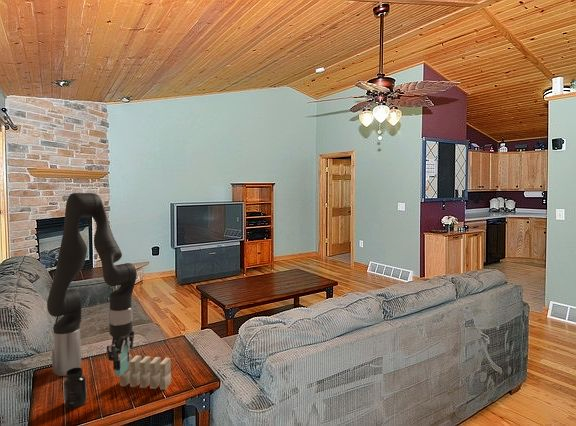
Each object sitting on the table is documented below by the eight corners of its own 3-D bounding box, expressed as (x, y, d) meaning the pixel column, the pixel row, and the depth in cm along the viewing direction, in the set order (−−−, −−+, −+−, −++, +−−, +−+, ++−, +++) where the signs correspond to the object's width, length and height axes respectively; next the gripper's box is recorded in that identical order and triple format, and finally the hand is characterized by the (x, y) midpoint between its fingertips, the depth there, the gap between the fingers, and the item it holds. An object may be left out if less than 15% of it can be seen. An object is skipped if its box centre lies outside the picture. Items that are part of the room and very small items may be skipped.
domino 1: (114, 375, 132) (114, 348, 131) (122, 368, 137) (122, 342, 136) (120, 376, 132) (119, 348, 131) (127, 368, 137) (127, 342, 136)
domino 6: (160, 389, 140) (159, 363, 139) (166, 382, 145) (165, 357, 144) (165, 390, 140) (164, 364, 139) (171, 382, 145) (170, 358, 144)
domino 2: (120, 386, 142) (119, 360, 141) (127, 379, 147) (126, 354, 146) (125, 386, 142) (124, 361, 141) (132, 379, 147) (131, 355, 146)
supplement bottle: (70, 398, 134) (69, 365, 133) (90, 397, 134) (89, 365, 133) (60, 409, 127) (59, 376, 126) (81, 409, 128) (80, 375, 127)
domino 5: (150, 388, 141) (149, 363, 140) (156, 381, 146) (155, 356, 145) (155, 389, 140) (154, 363, 139) (161, 381, 145) (160, 357, 144)
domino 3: (130, 386, 142) (129, 361, 141) (136, 379, 146) (136, 355, 146) (135, 387, 141) (134, 361, 140) (141, 380, 146) (141, 355, 145)
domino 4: (140, 387, 141) (139, 362, 140) (146, 380, 146) (146, 356, 145) (145, 388, 141) (144, 362, 140) (151, 381, 146) (151, 356, 145)
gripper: (122, 311, 140) (122, 355, 142) (98, 327, 126) (99, 375, 127) (141, 313, 139) (141, 357, 141) (119, 329, 125) (119, 377, 126)
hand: (121, 365), depth 134 cm, fingers closed on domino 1, 5 cm apart
